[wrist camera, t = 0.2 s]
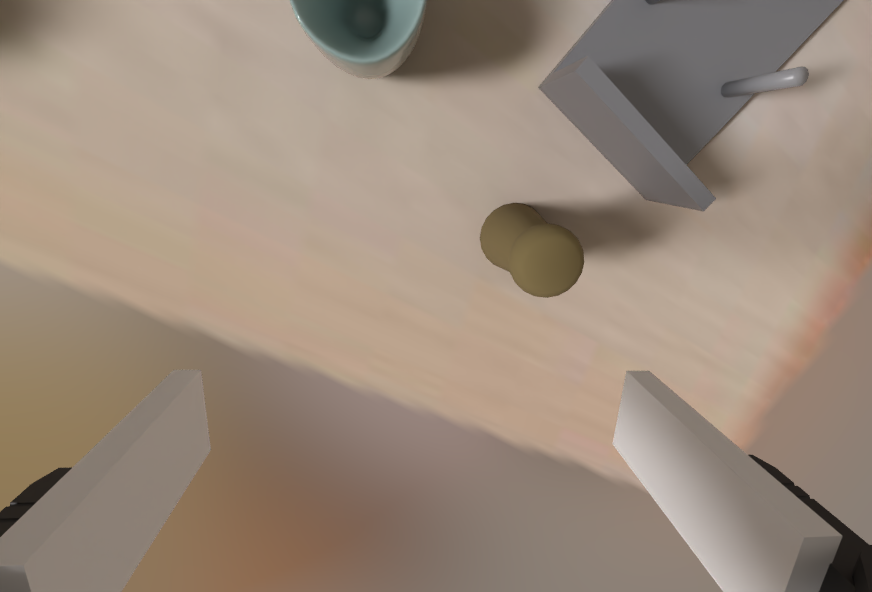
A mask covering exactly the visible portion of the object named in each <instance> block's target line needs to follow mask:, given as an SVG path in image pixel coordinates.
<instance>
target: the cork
mask: <svg viewBox="0 0 872 592" xmlns="http://www.w3.org/2000/svg"><path fill="white" fill-rule="evenodd" d="M480 241H481V248H482V250H483V252H484V254H485V256H486V258H487V259H488V260H490V261H491V262H492V263H493V264H494V265H496V266H498V267H500V268H502V269H505V270H507V271H509V272H510V273H511V275H512V277H513V279H514V281H515V283H516V284H517V285H518V286H519V287H520V288H521V289H522V290H523V291H525V292H527V293H529V294H531V295H533V296H537V297H547V298H548V297H553V296H558V295H560V294H562V293H564V292H566V291H567V290H569V289H570V288H571V287H572V286H573V285H574V284H575V283H576V282H577V280H578V278H579V276H580V275H581V273H582V269H583V265H584V253H583V249H582V247H581V245H580V242H579V240H578V239H577V238H576V237H575V236H574V234H573V233H572V232H571V231H569V230H567V229H565V228H563V227H561V226H559V225H555V224H547V222H546V221H545V220H544V219H543V218H542V217H541V216H540V215H539V214H538V213H537V212H536V211H535V210H534V209H533V208H531V207H529V206H527V205H525V204H519V203H511V204H506V205H503V206H501V207H499V208H497V209H495V210H494V211H493V212H492V213H491V214H490V215H489V216H488V217H487V218H486V220H485V222H484V224H483V226H482V229H481V235H480Z"/></svg>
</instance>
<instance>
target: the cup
mask: <svg viewBox="0 0 872 592" xmlns="http://www.w3.org/2000/svg"><path fill="white" fill-rule="evenodd" d="M290 4H291V6H292V9H293V11H294V14H295V16H296V19H297V21H298V22H299V24H300V25H301V27H302V29H303V30H304V32H305V34H306V35H307V36H308V38H309V39H310V40H311V42H312V43H313V44H314V45H315V46H316V47H317V49H318V50H319V51H320V52H321V53H322V54H323V55H324V56H325V57H326V58H327V59H328V60H329V61H330V62H332V63H333V64H334V65H335V66H336V67H338V68H340V69H341V70H343V71H345V72H347V73H348V74H351V75H353V76H356V77H359V78H365V79H377V78H381V77H384V76H387V75H389V74H391V73H392V72H394V71H395V70H397V69H398V68H399V67H400V66H401V65H402V64H403V63H404V62H405V60H406V59H407V58H408V56H409V55H410V53H411V52H412V50H413V48H414V46H415V44H416V42H417V40H418V37H419V34H420V31H421V27H422V24H423V20H424V16H425V11H426V4H427V0H290Z"/></svg>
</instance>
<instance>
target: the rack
mask: <svg viewBox="0 0 872 592" xmlns="http://www.w3.org/2000/svg"><path fill="white" fill-rule="evenodd" d="M842 1H843V0H612V1H611V2H610V3H609V4H608V5H607V6H606V8H605V9H604V10H603V11H602V12H601V14H600V15H599V16H598V17H597V18H596V20H595V21H594V22H593V23H592V24H591V25H590V27H589V28H588V29H587V30H586V31H585V33H584V34H583V35H582V36H581V37H580V38H579V40H578V41H577V42H576V43H575V44H574V46H573V47H572V48H571V49H570V50H569V51H568V53H567V54H566V55H565V56H564V57H563V59H562V60H561V61H560V62H559V63H558V64H557V66H556V67H555V68H554V69H553V70H552V72H551V73H550V74H549V75H548V76H547V78H546V79H545V80H544V81H543V82H542V83H541V85H540V86H539V87H538V88H539V89H540V90H541V91H542V92H543V93H544V94H545V95H546V96H547V97H548V98H549V99H550V100H551V101H552V102H553V103H554V104H555V105H556V106H557V107H558V108H559V110H560V111H561V112H562V113H563V114H564V115H565V116H566V117H567V118H568V119H569V120H570V121H571V122H572V123H573V124H574V125H575V126H576V127H577V128H578V129H579V130H580V131H581V133H582V134H583V135H584V136H585V137H586V138H587V139H588V140H589V141H590V142H591V143H592V144H593V145H594V146H595V147H596V148H597V149H598V150H599V151H600V152H601V153H602V154H603V155H604V157H605V158H606V159H607V160H608V161H609V162H610V163H611V164H612V165H613V166H614V167H615V168H616V169H617V170H618V171H619V172H620V173H621V174H622V175H623V176H624V177H625V178H626V180H627V181H628V182H629V183H630V184H631V185H632V186H633V187H634V188H635V189H636V190H637V191H638V192H639V193H640V194H641V195H642V196H643V197H644V198H645V199H646V200H649V201H654V202H659V203H664V204H669V205H674V206H679V207H684V208H689V209H695V210H700V211H705V209H706V208H707V207H708V206H709V205H710V204H711V203H712V202H713V201H714V200H715V199H716V198H715V197H714V196H713V194H712V193H711V192H710V191H709V190H708V189H707V188H706V187H705V185H704V184H703V183H702V182H701V181H700V180H699V179H698V178H697V177H696V175H695V174H694V173H693V172H692V171H691V170H690V169H689V168H688V166H687V164H688V163H689V162H690V161H691V160H692V159H693V158H694V157H695V156H696V154H697V153H698V152H699V151H700V150H701V149H702V148H703V147H704V146H705V145H706V144H707V143H708V142H709V141H710V140H711V139H712V138H713V137H714V136H715V135H716V134H717V132H718V131H719V130H720V129H721V128H722V127H723V126H724V125H725V124H726V123H727V122H728V121H729V120H730V119H731V118H732V117H733V116H734V115H735V114H736V113H737V111H738V110H739V109H740V108H741V107H742V106H743V105H744V104H745V103H746V102H747V101H748V100H749V99H750V98H751V97H752V96H753V95H754V94H755V93H759V92H765V91H771V90H777V89H784V88H790V87H796V86H801V85H803V84H804V83H805V82H806V81H807V79H808V76H809V73H808V70H807V68H805V67H798V68H793V69H788V70H783V71H778V72H776V71H777V70H778V68H779V67H780V66H781V65H782V64H783V63H784V62H785V61H786V60H787V59H788V58H789V57H790V56H791V55H792V54H793V53H794V52H795V51H796V50H797V49H798V48H799V46H800V45H801V44H802V43H803V42H804V41H805V40H806V39H807V38H808V37H809V36H810V35H811V34H812V33H813V32H814V31H815V30H816V29H817V28H818V27H819V25H820V24H821V23H822V22H823V21H824V20H825V19H826V18H827V17H828V16H829V15H830V14H831V13H832V12H833V11H834V10H835V9H836V8H837V7H838V6H839V5H840V3H841V2H842Z"/></svg>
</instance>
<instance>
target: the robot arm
mask: <svg viewBox="0 0 872 592" xmlns="http://www.w3.org/2000/svg"><path fill="white" fill-rule="evenodd" d="M613 445H614V447H615V448H616V449H617V451H618V452H619V453H620V455H621V456H622V457H623V459H624V460H625V461H626V463H627V464H628V465H629V467H630V468H631V469H632V471H633V472H634V473H635V475H636V476H637V477H638V479H639V480H640V481H641V483H642V484H643V485H644V487H645V488H646V489H647V491H648V492H649V493H650V495H651V496H652V497H653V499H654V500H655V501H656V503H657V504H658V505H659V507H660V508H661V509H662V511H663V512H664V513H665V514H666V516H667V517H668V519H669V520H670V521H671V522H672V524H673V525H674V527H675V528H676V529H677V531H678V532H679V533H680V535H681V536H682V537H683V539H684V540H685V541H686V543H687V544H688V545H689V547H690V548H691V549H692V551H693V552H694V553H695V555H696V556H697V557H698V559H699V560H700V561H701V563H702V564H703V565H704V567H705V568H706V569H707V571H708V572H709V573H710V574H711V576H712V577H713V579H714V580H715V581H716V583H717V584H718V585H719V587H720V588H721V589H722V591H723V592H872V545H869V544H867V543H866V542H865V541H864V540H863V539H861V538H860V537H859V536H858V535H856V534H855V533H854V532H853V531H851V530H850V529H849V528H848V527H847V526H846V525H844V524H843V523H842V522H841V521H840V520H838V519H837V518H836V517H835V516H834V515H832V514H831V513H830V512H829V511H827V510H826V509H825V508H824V507H823V506H821V505H820V504H819V503H818V502H817V501H815V500H814V499H810V497H809V495H808V494H807V493H805V492H804V491H803V490H802V489H801V488H800V487H798V486H795V485H794V483H793V482H792V481H791V480H790V479H789V478H787V477H786V476H785V475H784V474H782V473H781V472H780V471H779V470H778V469H776V468H775V467H773V466H772V465H770V464H768V463H766V462H764V461H763V460H761V459H759V458H757V457H755V456H754V455H747V454H746V453H745V452H744V451H742V450H741V449H740V448H739V447H738V446H737V445H735V444H734V443H733V442H732V441H731V440H730V439H728V438H727V437H726V436H725V435H724V434H722V433H721V432H720V431H719V430H718V429H717V428H715V427H714V426H713V425H712V424H711V423H710V422H708V421H707V420H706V419H705V418H704V417H703V416H701V415H700V414H699V413H698V412H697V411H696V410H694V409H693V408H692V407H691V406H690V405H688V404H687V403H686V402H685V401H684V400H683V399H681V398H680V397H679V396H678V395H677V394H676V393H674V392H673V391H672V390H671V389H670V388H669V387H667V386H666V385H665V384H664V383H663V382H662V381H660V380H659V379H658V378H657V377H656V376H654V375H653V374H652V373H651V372H650V371H626V376H625V381H624V387H623V392H622V397H621V403H620V408H619V413H618V419H617V424H616V429H615V435H614V440H613ZM210 450H211V448H210V440H209V432H208V423H207V415H206V407H205V399H204V391H203V382H202V374H201V370H173V371H172V372H171V373H170V374H169V375H168V376H167V377H166V378H165V379H164V380H163V381H162V382H161V383H160V384H159V385H158V386H157V387H156V388H155V389H154V390H152V392H150V393H149V394H148V395H147V396H146V397H145V398H144V399H143V400H142V401H141V402H140V403H139V404H138V405H137V406H136V407H135V408H134V409H133V410H132V411H131V412H130V413H129V414H128V415H127V416H126V417H125V418H123V419H122V420H121V421H120V422H119V423H118V424H117V425H116V426H115V427H114V428H113V429H112V430H111V431H110V432H109V433H108V434H107V435H106V436H105V437H104V438H103V439H102V440H101V441H100V442H99V443H98V444H96V445H95V446H94V447H93V448H92V449H91V450H90V451H89V452H88V453H87V454H86V455H85V456H84V457H83V458H82V459H81V460H80V461H79V462H78V463H77V464H76V465H75V466H74V467H73V468H58V469H56V470H54V471H53V472H51V473H50V474H48V475H46V476H44V477H42V478H41V479H39V480H37V481H36V482H34V483H33V484H31V485H30V486H29V487H28V488H26V489H25V490H24V491H23V492H22V493H21V494H20V495H19V496H17V498H15V499H14V500H13V501H12V502H11V503H10V506H9V507H5V508H4V509H3V510H2V511H1V512H0V592H121V591H122V590H123V588H124V587H125V585H126V583H127V582H128V580H129V578H130V577H131V575H132V574H133V572H134V571H135V569H136V568H137V566H138V564H139V563H140V561H141V559H142V558H143V556H144V555H145V553H146V551H147V550H148V548H149V547H150V545H151V544H152V542H153V541H154V539H155V537H156V536H157V534H158V533H159V531H160V529H161V528H162V526H163V525H164V523H165V522H166V520H167V518H168V517H169V515H170V514H171V512H172V510H173V509H174V507H175V505H176V504H177V502H178V501H179V499H180V498H181V496H182V495H183V493H184V491H185V490H186V488H187V487H188V485H189V483H190V482H191V480H192V479H193V477H194V476H195V474H196V472H197V471H198V469H199V468H200V466H201V464H202V463H203V461H204V459H205V458H206V456H207V455H208V453H209V452H210Z"/></svg>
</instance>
